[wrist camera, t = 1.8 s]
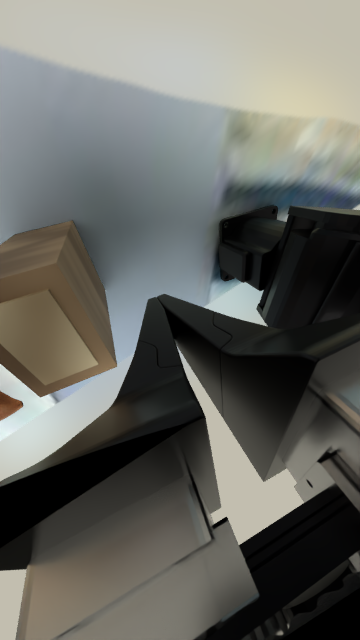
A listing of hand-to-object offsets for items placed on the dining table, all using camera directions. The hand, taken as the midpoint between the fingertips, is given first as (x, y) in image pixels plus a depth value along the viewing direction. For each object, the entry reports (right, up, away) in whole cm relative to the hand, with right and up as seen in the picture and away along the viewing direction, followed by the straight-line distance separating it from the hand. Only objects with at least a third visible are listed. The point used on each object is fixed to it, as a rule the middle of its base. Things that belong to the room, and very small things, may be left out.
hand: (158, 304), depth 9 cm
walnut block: (-8, +4, +7) cm, 11 cm away
